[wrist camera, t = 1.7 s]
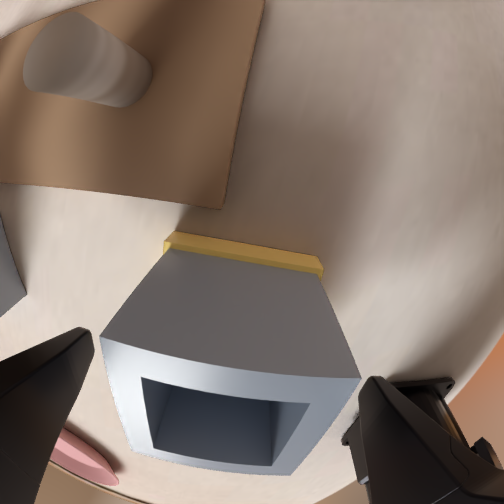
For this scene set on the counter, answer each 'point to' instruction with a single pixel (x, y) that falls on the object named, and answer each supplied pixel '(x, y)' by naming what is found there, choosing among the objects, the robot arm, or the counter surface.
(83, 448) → the plate
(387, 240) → the counter surface
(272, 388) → the sleeve band down
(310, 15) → the counter surface
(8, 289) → the sleeve band up
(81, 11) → the pin board
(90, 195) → the counter surface
